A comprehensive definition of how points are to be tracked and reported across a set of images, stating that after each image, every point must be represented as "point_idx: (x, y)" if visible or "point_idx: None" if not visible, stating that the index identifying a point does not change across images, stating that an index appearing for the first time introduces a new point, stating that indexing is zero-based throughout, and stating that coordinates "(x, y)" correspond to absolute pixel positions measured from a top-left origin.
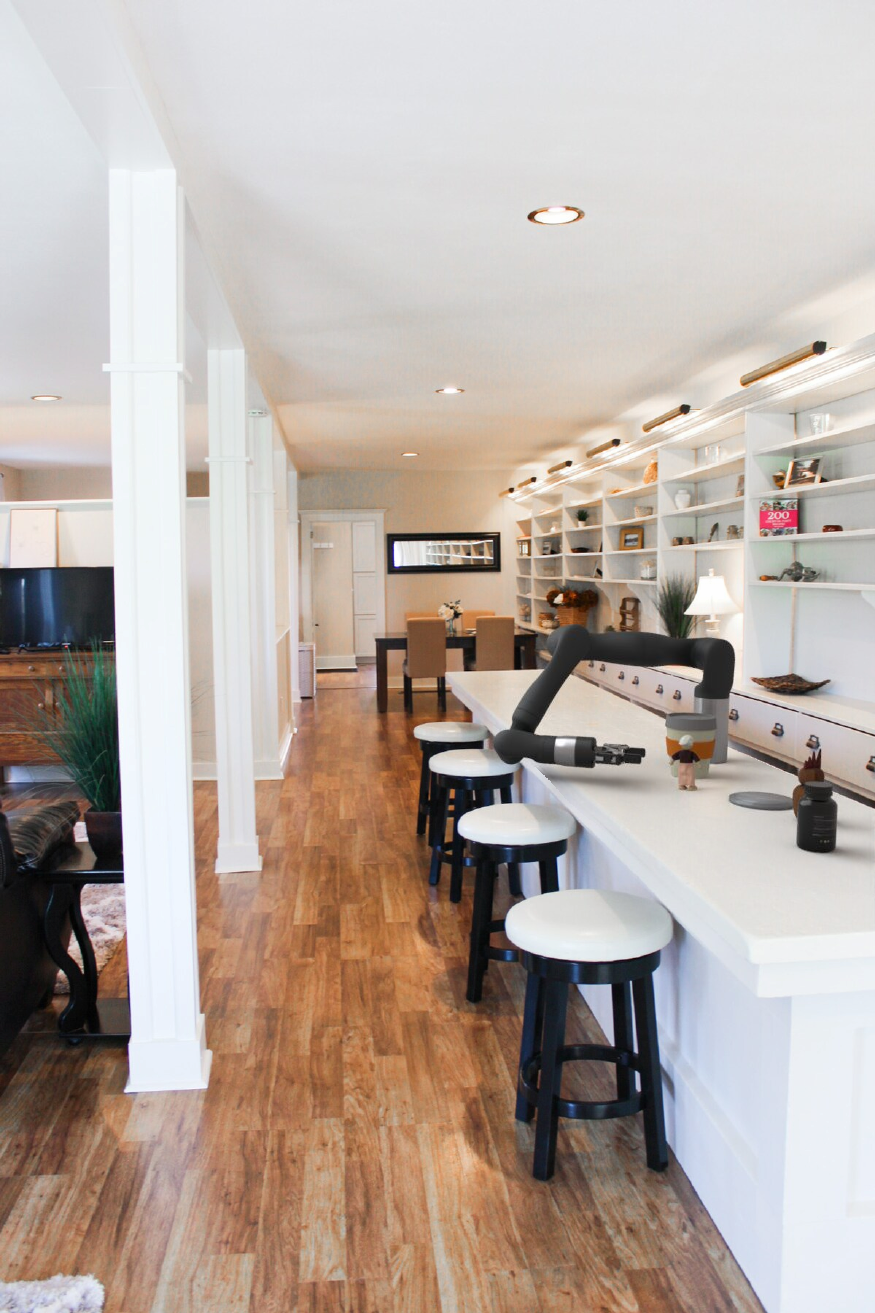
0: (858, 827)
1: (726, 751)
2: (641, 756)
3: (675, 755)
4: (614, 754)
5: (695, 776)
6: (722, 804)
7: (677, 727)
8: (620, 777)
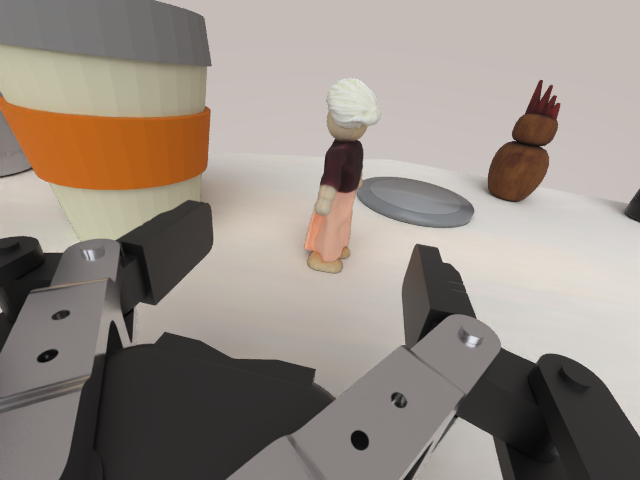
0: None
1: None
2: (415, 249)
3: (340, 173)
4: (617, 425)
5: None
6: (468, 239)
7: (155, 51)
8: None
